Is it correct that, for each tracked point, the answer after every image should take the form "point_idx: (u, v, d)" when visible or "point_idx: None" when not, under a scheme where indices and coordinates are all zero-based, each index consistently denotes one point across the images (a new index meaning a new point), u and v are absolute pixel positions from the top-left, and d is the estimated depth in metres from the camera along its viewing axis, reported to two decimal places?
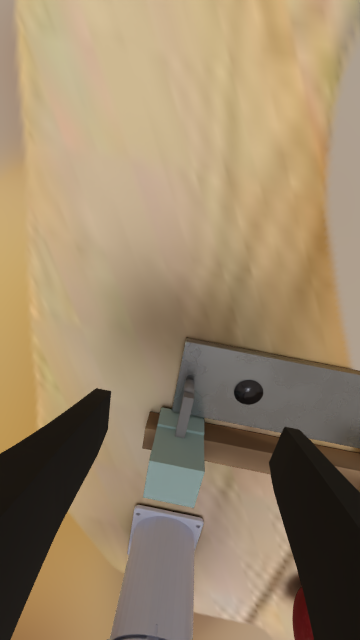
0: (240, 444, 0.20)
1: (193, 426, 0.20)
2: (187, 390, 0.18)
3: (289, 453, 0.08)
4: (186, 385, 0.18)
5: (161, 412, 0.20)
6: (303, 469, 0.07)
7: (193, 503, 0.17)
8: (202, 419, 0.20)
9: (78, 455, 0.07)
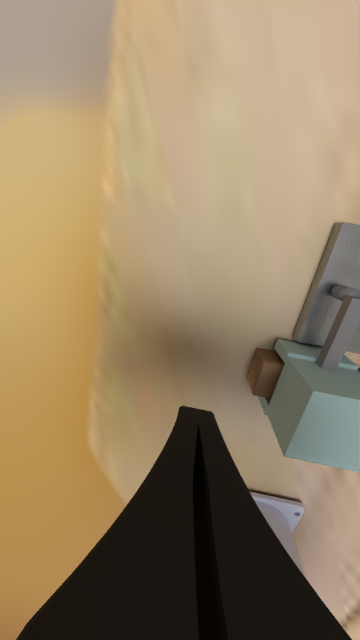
0: None
1: None
2: (349, 293, 0.12)
3: None
4: (343, 288, 0.12)
5: (282, 343, 0.14)
6: (197, 447, 0.07)
7: None
8: None
9: None
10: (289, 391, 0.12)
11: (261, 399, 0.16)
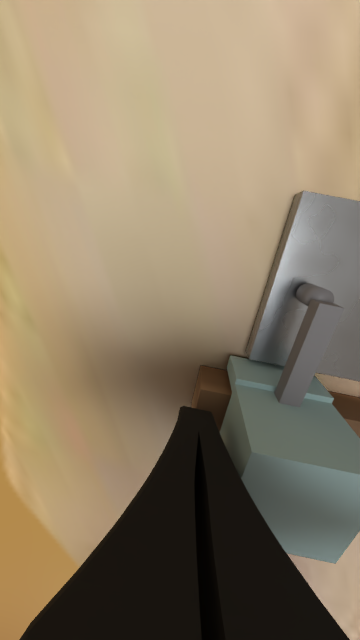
0: None
1: None
2: (317, 297, 0.08)
3: None
4: (310, 289, 0.08)
5: (234, 362, 0.11)
6: (196, 447, 0.07)
7: (337, 554, 0.07)
8: (312, 377, 0.11)
9: None
10: (231, 437, 0.08)
11: None
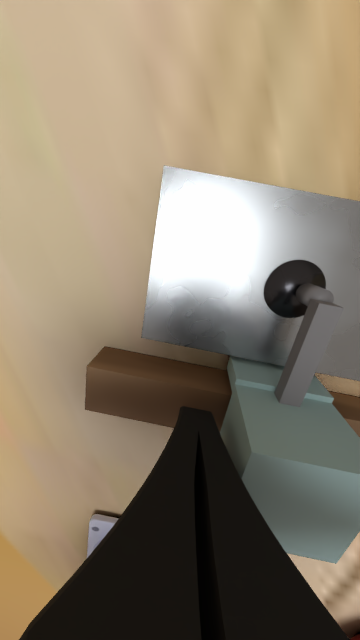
0: None
1: None
2: (317, 296, 0.08)
3: None
4: (310, 289, 0.08)
5: (234, 362, 0.11)
6: (196, 447, 0.07)
7: (338, 554, 0.07)
8: (313, 376, 0.11)
9: None
10: (231, 437, 0.08)
11: None
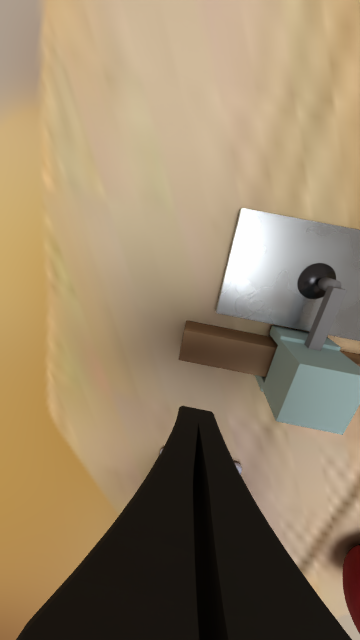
0: None
1: None
2: (331, 284, 0.14)
3: None
4: (327, 280, 0.14)
5: (276, 328, 0.16)
6: (197, 447, 0.07)
7: (344, 428, 0.13)
8: (326, 338, 0.16)
9: None
10: (281, 367, 0.14)
11: (258, 379, 0.18)
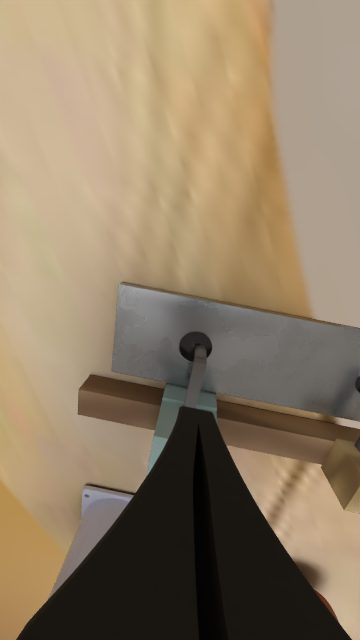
0: None
1: (204, 401, 0.17)
2: (197, 356, 0.15)
3: None
4: (197, 350, 0.15)
5: (166, 386, 0.18)
6: (197, 447, 0.07)
7: None
8: (213, 394, 0.18)
9: None
10: None
11: None
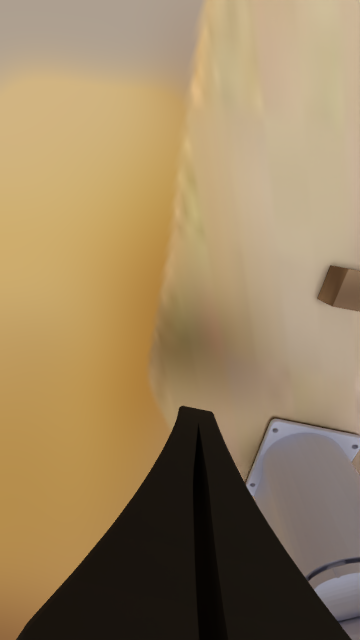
0: None
1: None
2: None
3: None
4: None
5: None
6: (197, 447, 0.07)
7: None
8: None
9: None
10: None
11: None
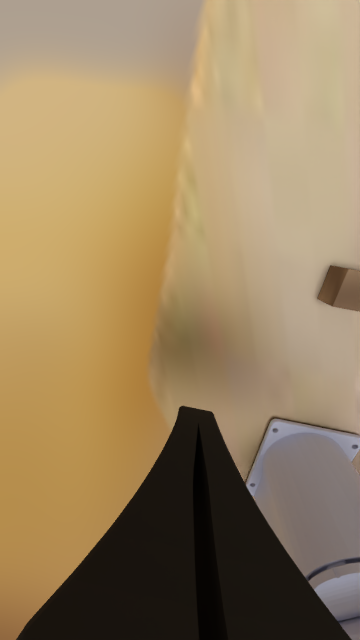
0: None
1: None
2: None
3: None
4: None
5: None
6: (197, 447, 0.07)
7: None
8: None
9: None
10: None
11: None
